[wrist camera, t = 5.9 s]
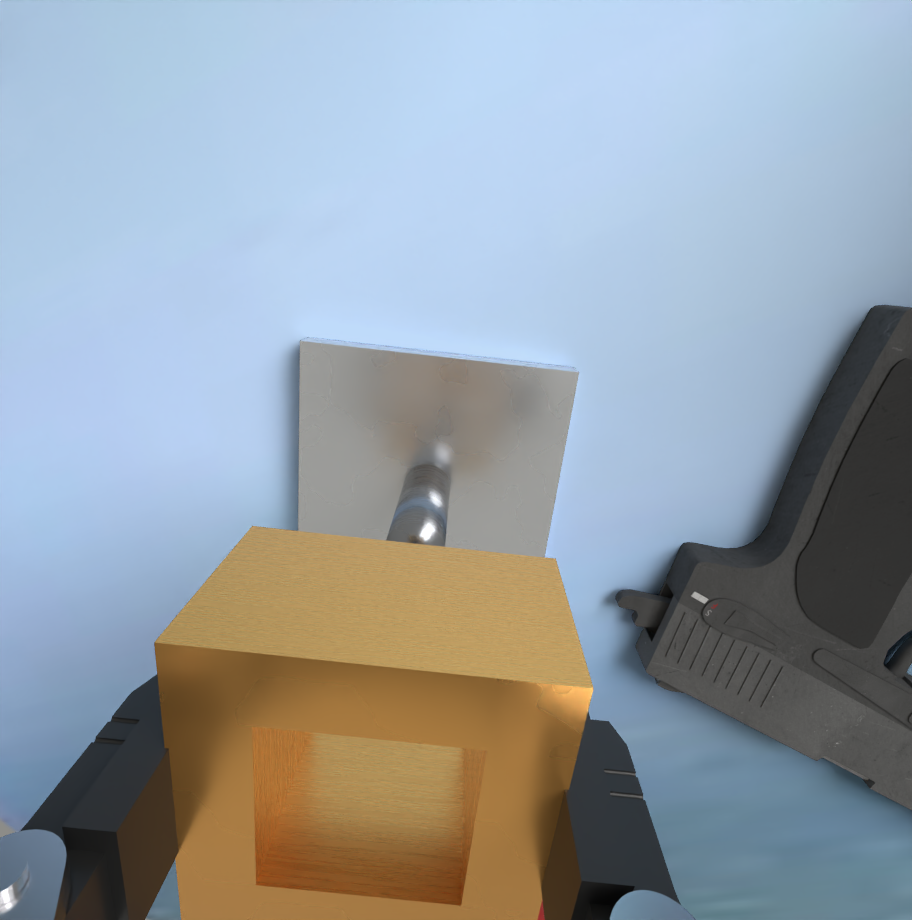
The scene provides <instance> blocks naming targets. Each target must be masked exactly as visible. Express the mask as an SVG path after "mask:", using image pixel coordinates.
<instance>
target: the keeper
mask: <svg viewBox="0 0 912 920" xmlns="http://www.w3.org/2000/svg"><path fill="white" fill-rule="evenodd" d="M578 375H579V372H578V371H577V370H576V369H575V368H574V367H566V366H558V365H549V364H540V363H531V362H522V361H513V360H505V359H496V358H487V357H478V356H469V355H460V354H452V353H443V352H434V351H425V350H416V349H407V348H399V347H390V346H381V345H372V344H363V343H354V342H346V341H337V340H328V339H319V338H310V337H307V338H305V339H303V340H301V341H300V383H299V487H298V531H303V532H312V533H322V534H331V535H340V536H349V537H359V538H368V539H377V540H386V541H396V542H405V543H414V544H424V545H433V546H442V547H451V548H461V549H470V550H479V551H488V552H498V553H507V554H516V555H525V556H535V557H545V552H546V546H547V541H548V536H549V530H550V525H551V519H552V514H553V509H554V503H555V498H556V493H557V487H558V482H559V477H560V471H561V466H562V461H563V455H564V450H565V445H566V439H567V434H568V429H569V423H570V418H571V413H572V407H573V402H574V396H575V391H576V386H577V380H578Z"/></svg>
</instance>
